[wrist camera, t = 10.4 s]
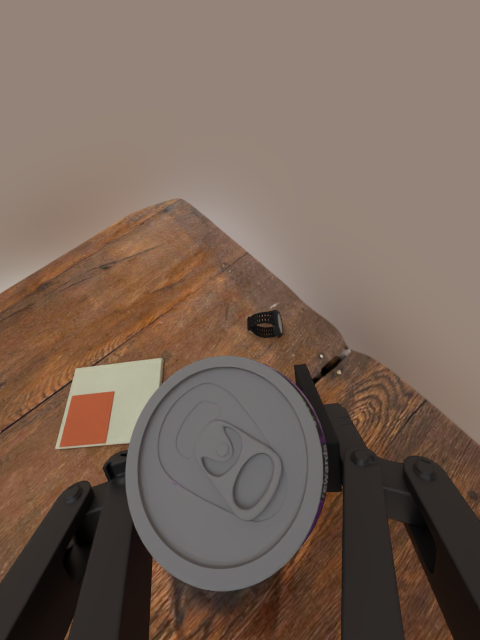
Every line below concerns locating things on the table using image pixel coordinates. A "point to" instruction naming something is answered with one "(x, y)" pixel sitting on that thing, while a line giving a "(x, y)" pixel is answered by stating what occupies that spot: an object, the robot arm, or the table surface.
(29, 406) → the table surface
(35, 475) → the table surface
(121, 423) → the mat
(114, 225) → the table surface
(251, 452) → the beverage can
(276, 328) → the black strap with disc
